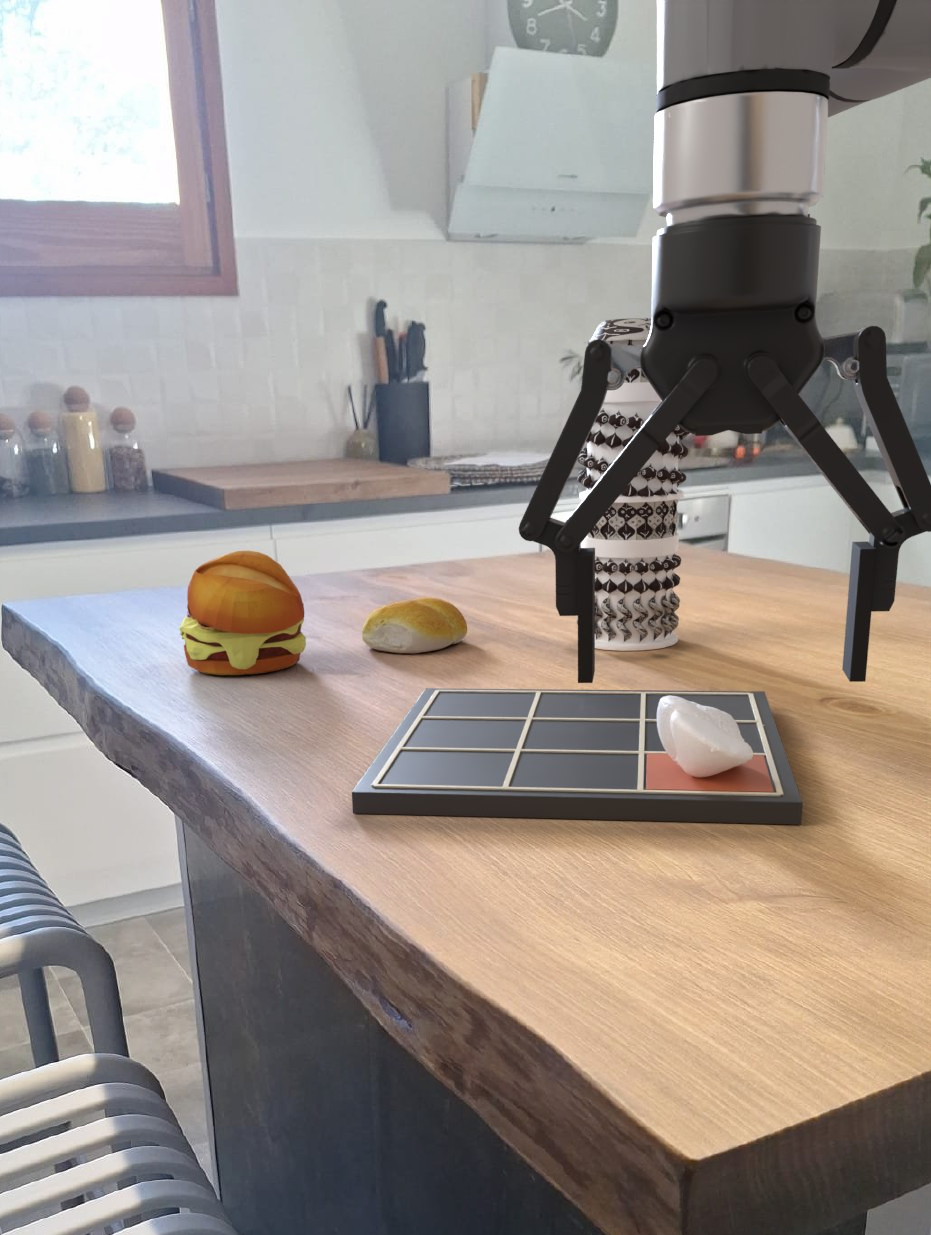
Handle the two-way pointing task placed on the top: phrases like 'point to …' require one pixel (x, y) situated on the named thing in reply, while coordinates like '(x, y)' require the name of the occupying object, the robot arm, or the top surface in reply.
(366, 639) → the bread roll
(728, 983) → the top surface
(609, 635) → the decorative candle
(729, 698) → the board
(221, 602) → the cheeseburger
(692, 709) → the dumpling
